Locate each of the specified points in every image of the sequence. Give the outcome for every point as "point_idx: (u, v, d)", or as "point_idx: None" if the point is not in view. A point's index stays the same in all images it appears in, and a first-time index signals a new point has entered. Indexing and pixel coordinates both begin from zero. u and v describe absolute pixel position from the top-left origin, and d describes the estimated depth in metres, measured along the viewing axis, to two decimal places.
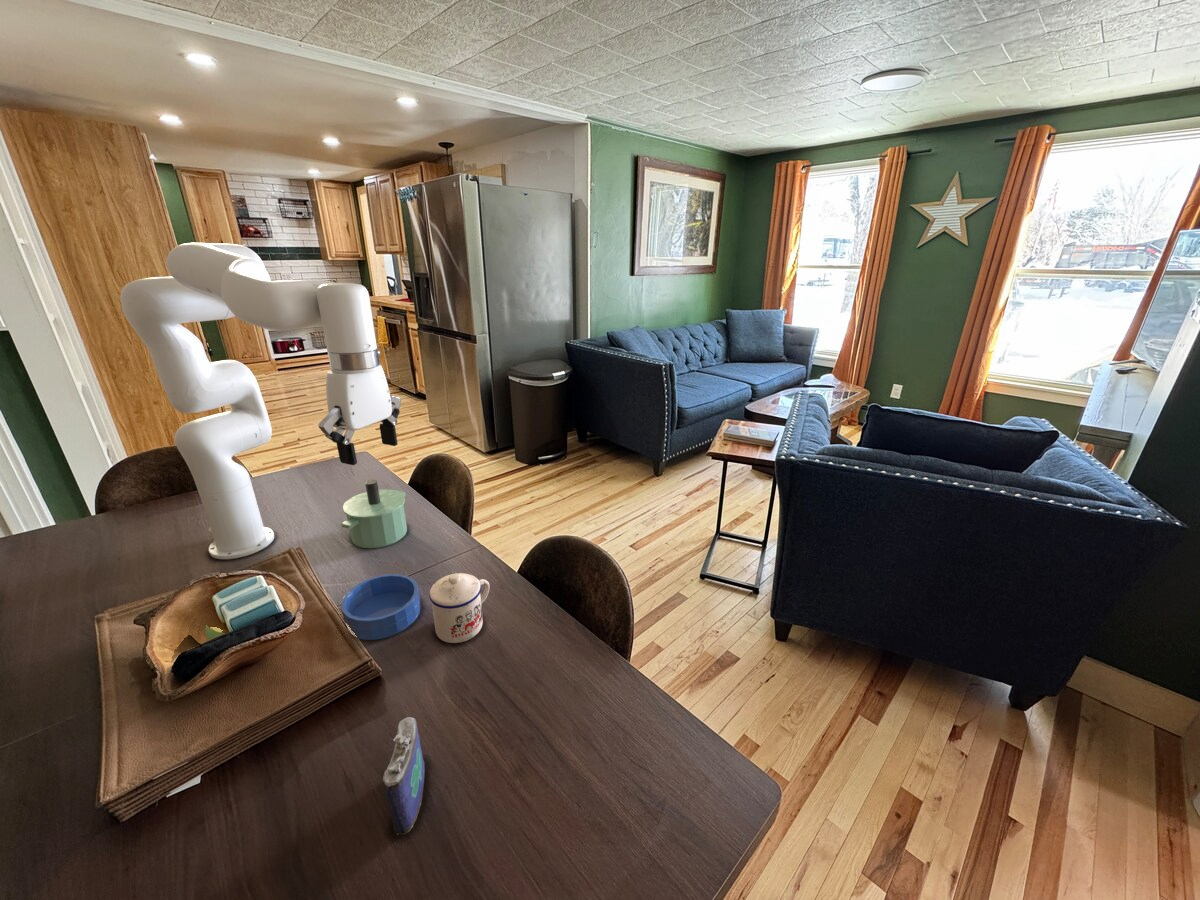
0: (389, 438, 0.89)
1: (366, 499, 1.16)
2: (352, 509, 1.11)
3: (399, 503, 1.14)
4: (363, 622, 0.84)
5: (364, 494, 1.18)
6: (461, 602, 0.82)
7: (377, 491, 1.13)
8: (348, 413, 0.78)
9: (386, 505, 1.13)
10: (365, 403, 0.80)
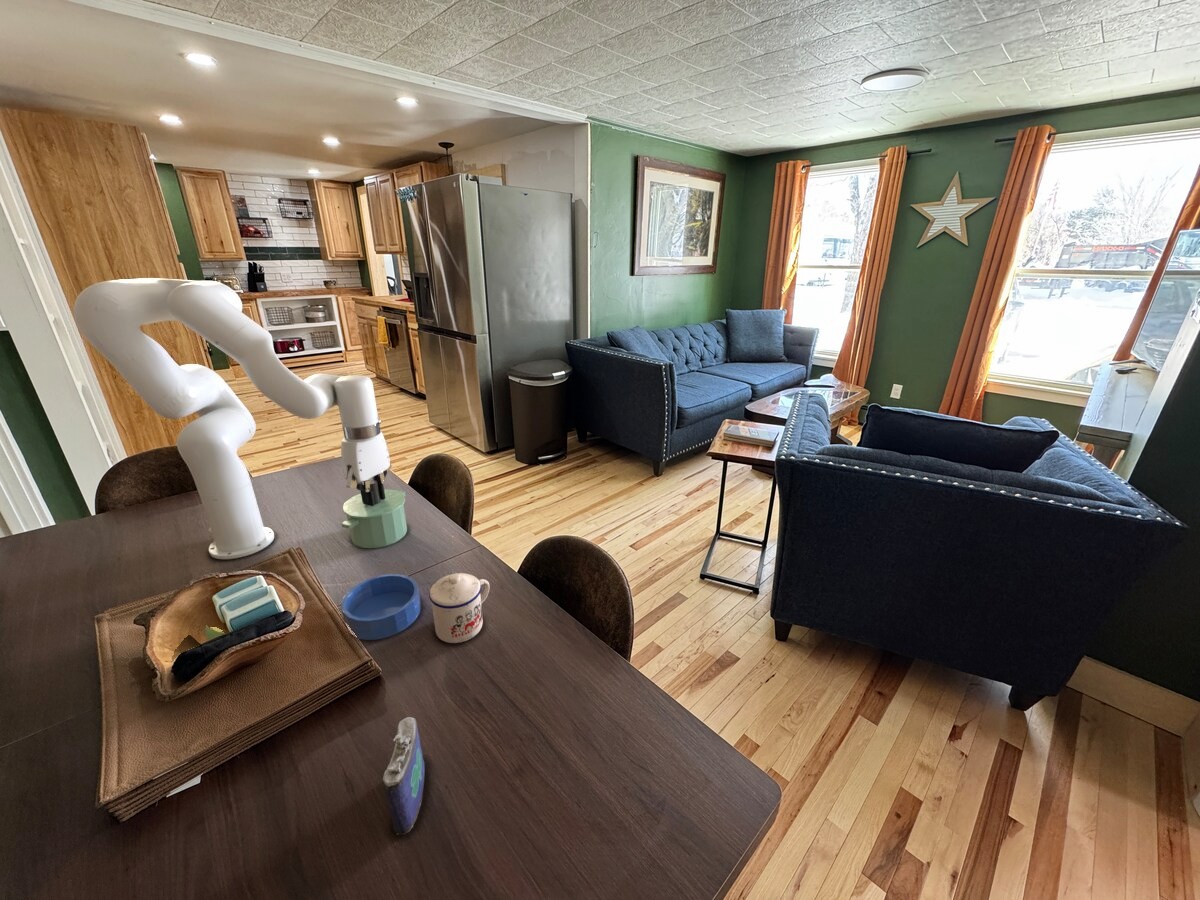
0: (379, 494, 1.15)
1: None
2: (352, 509, 1.11)
3: (399, 503, 1.14)
4: (363, 622, 0.84)
5: None
6: (461, 602, 0.82)
7: (377, 491, 1.13)
8: (357, 470, 1.06)
9: (386, 505, 1.13)
10: (370, 461, 1.08)
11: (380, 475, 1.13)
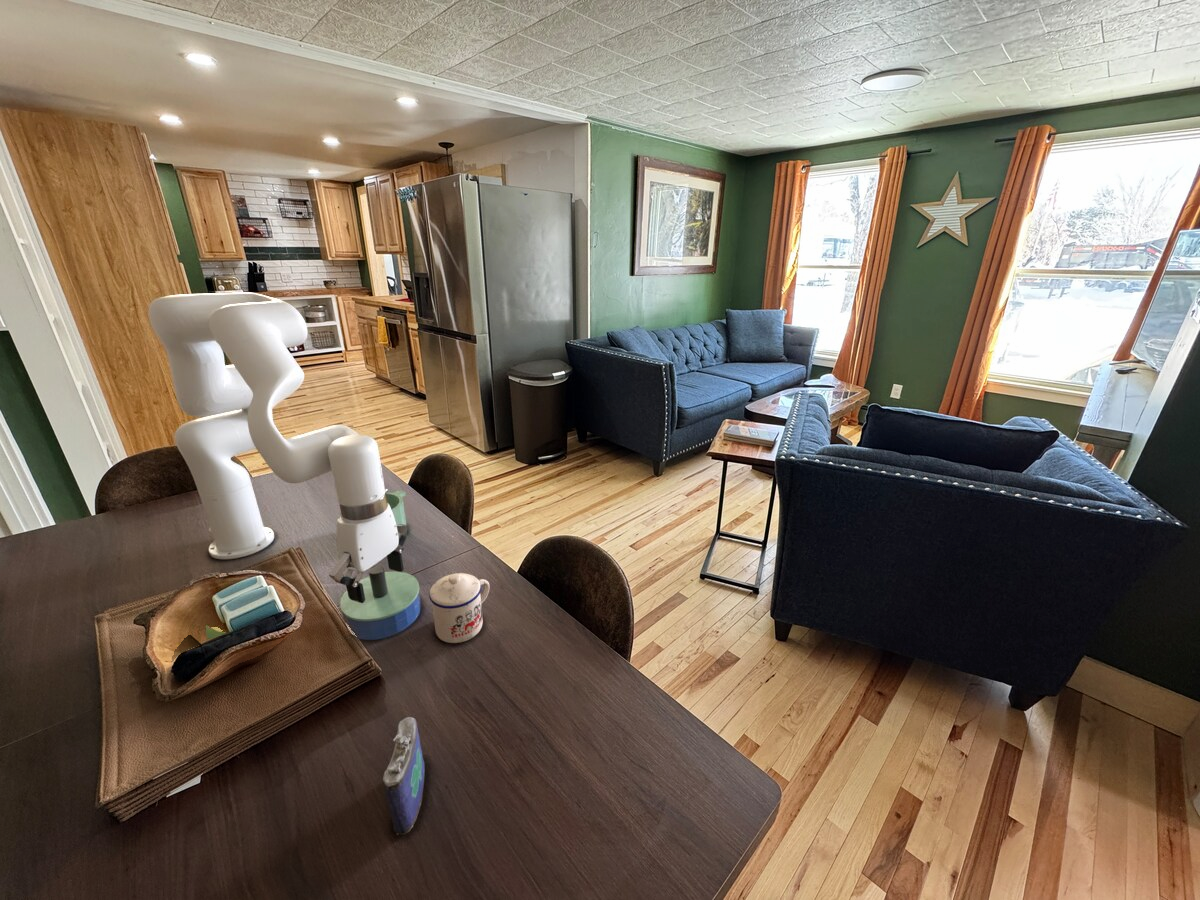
0: (396, 565, 0.92)
1: (370, 588, 0.91)
2: (352, 606, 0.87)
3: (411, 596, 0.90)
4: (363, 622, 0.84)
5: (367, 580, 0.94)
6: (461, 602, 0.82)
7: (384, 581, 0.89)
8: (357, 559, 0.81)
9: (395, 599, 0.89)
10: (373, 545, 0.83)
11: None
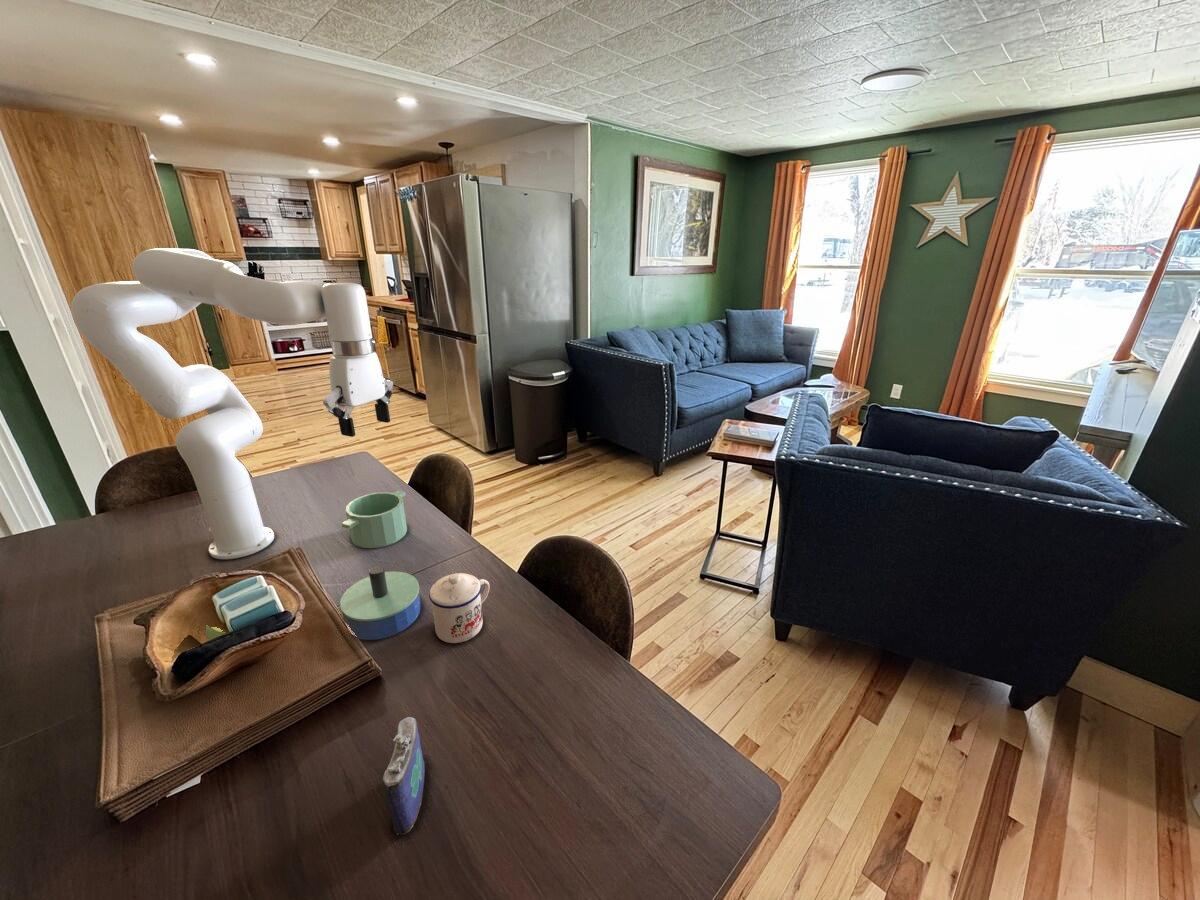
0: (383, 416, 1.04)
1: (370, 588, 0.91)
2: (352, 606, 0.87)
3: (411, 596, 0.90)
4: (363, 622, 0.84)
5: (367, 580, 0.94)
6: (461, 602, 0.82)
7: (384, 581, 0.89)
8: (348, 392, 0.93)
9: (395, 599, 0.89)
10: (362, 384, 0.95)
11: (384, 394, 1.03)
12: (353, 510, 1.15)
